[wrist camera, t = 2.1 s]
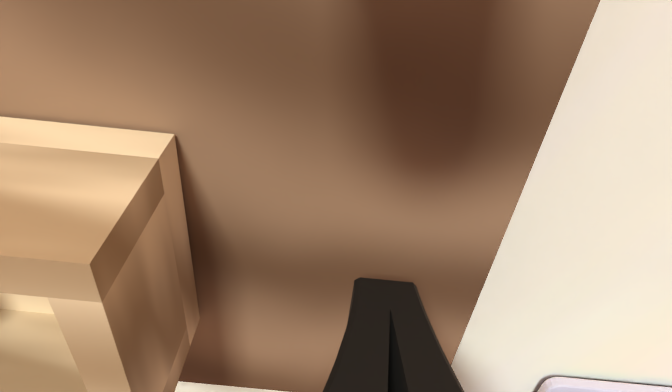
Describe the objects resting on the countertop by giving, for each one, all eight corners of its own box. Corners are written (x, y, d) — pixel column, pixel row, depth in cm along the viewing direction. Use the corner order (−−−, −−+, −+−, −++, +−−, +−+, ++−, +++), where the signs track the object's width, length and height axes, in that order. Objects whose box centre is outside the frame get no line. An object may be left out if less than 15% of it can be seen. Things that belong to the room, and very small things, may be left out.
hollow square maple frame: (200, 318, 14) (152, 455, 11) (-13, 297, 14) (-122, 430, 11) (174, 133, 10) (89, 264, 7) (-118, 104, 10) (-335, 222, 7)
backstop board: (430, 374, 18) (450, 537, 14) (-213, 313, 17) (-395, 461, 13) (579, -27, 9) (756, 81, 5) (-672, -161, 9) (-1578, -163, 5)
